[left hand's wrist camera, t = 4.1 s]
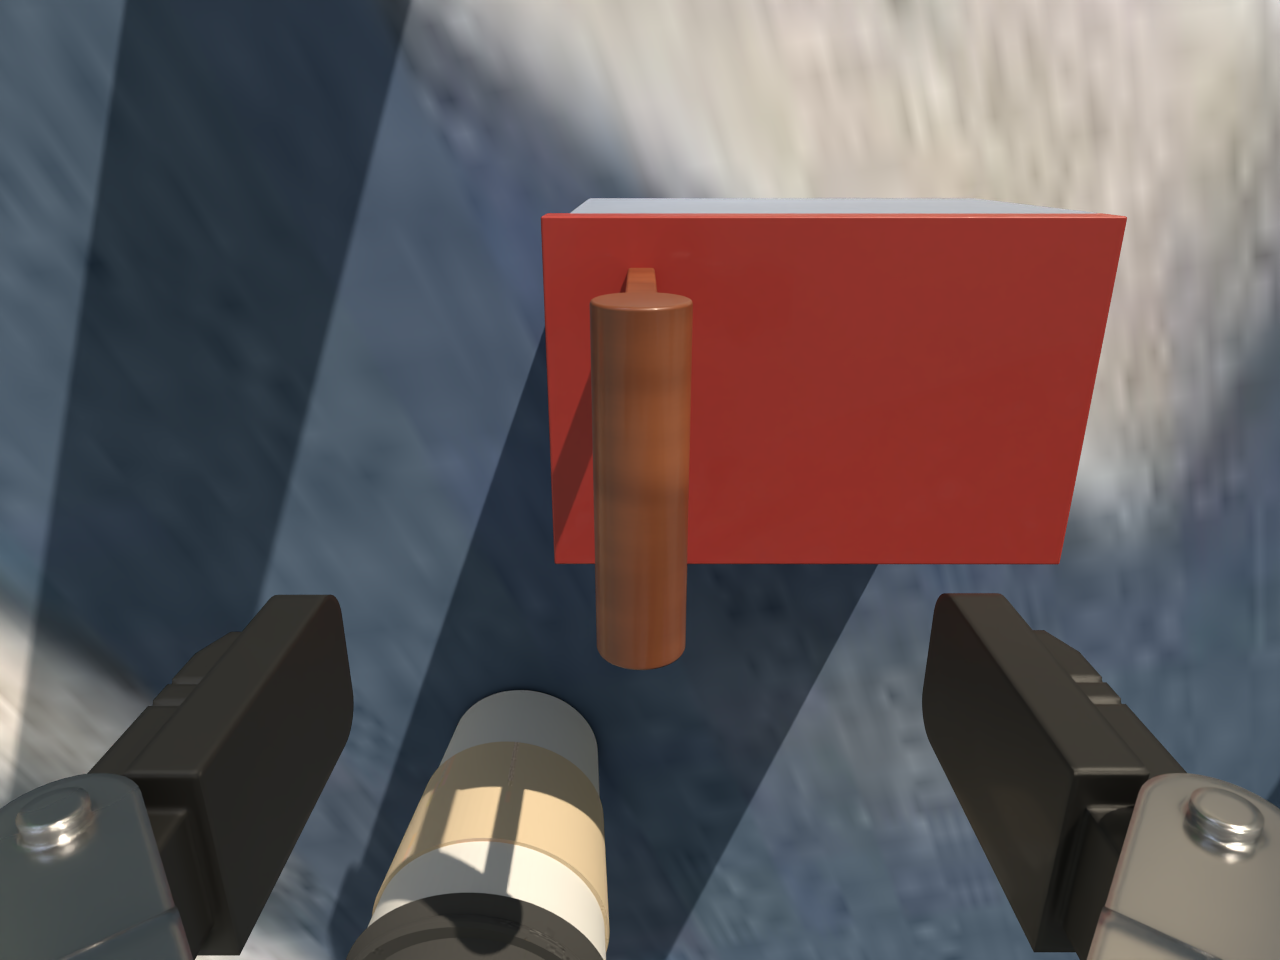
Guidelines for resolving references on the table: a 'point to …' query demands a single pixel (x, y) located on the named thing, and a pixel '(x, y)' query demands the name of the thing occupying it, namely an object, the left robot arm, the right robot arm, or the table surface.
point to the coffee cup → (501, 845)
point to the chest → (813, 206)
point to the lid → (812, 394)
